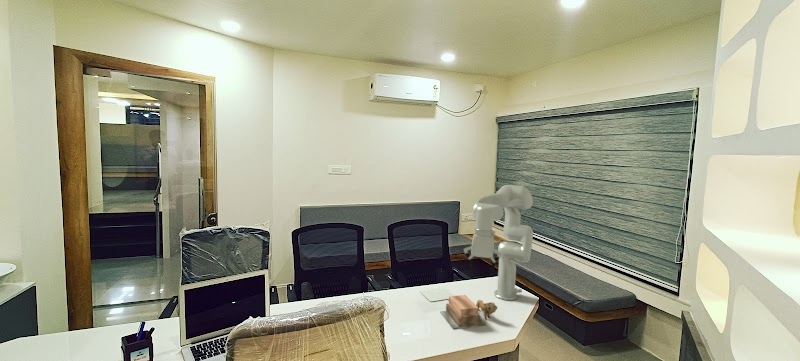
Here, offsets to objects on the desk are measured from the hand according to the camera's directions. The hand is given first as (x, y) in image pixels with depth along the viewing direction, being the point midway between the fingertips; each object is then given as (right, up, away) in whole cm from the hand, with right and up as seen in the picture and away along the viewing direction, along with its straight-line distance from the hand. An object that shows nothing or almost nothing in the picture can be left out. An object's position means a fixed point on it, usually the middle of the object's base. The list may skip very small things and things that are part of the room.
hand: (481, 268), depth 152 cm
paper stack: (-19, -25, +28) cm, 42 cm away
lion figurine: (+4, -27, +11) cm, 30 cm away
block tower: (-7, -27, +7) cm, 29 cm away
